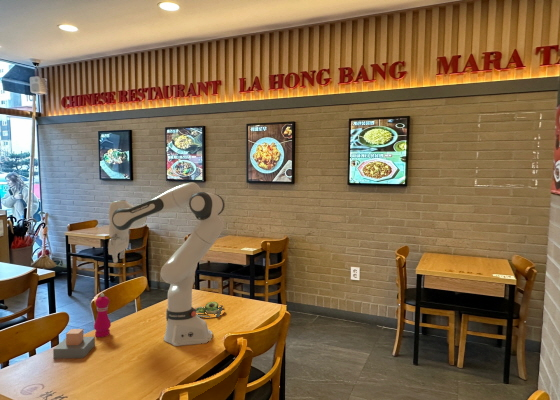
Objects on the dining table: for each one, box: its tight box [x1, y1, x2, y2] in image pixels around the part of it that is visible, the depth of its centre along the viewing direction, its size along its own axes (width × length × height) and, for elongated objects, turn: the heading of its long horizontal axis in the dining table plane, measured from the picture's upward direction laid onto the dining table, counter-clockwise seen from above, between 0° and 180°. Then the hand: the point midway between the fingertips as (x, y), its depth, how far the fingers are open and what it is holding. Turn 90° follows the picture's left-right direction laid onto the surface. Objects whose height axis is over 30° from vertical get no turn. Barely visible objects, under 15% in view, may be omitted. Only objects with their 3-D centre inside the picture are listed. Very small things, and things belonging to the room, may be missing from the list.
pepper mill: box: [93, 292, 112, 338], centre depth 184 cm, size 7×7×20 cm
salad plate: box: [195, 301, 224, 318], centre depth 216 cm, size 19×18×5 cm
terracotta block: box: [65, 328, 84, 345], centre depth 165 cm, size 5×5×5 cm
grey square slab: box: [52, 336, 96, 359], centre depth 166 cm, size 12×12×4 cm
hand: (118, 260), depth 191 cm, fingers open, 8 cm apart
